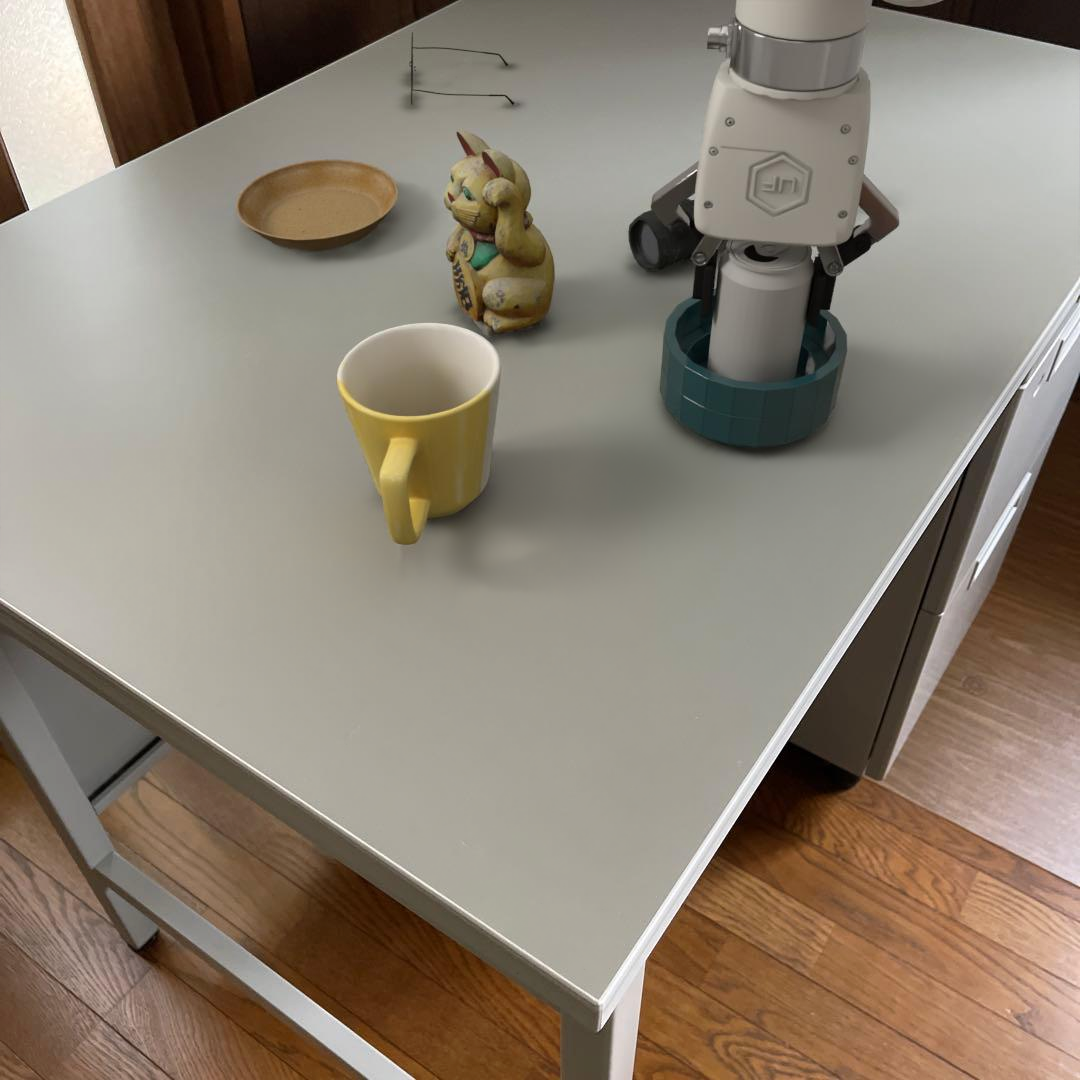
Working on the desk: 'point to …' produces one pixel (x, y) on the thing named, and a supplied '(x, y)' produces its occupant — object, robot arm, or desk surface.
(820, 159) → the robot arm
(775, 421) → the bowl
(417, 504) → the mug
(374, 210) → the plant saucer
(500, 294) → the decorative figurine
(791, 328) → the beverage can
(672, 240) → the flashlight
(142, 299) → the desk surface
